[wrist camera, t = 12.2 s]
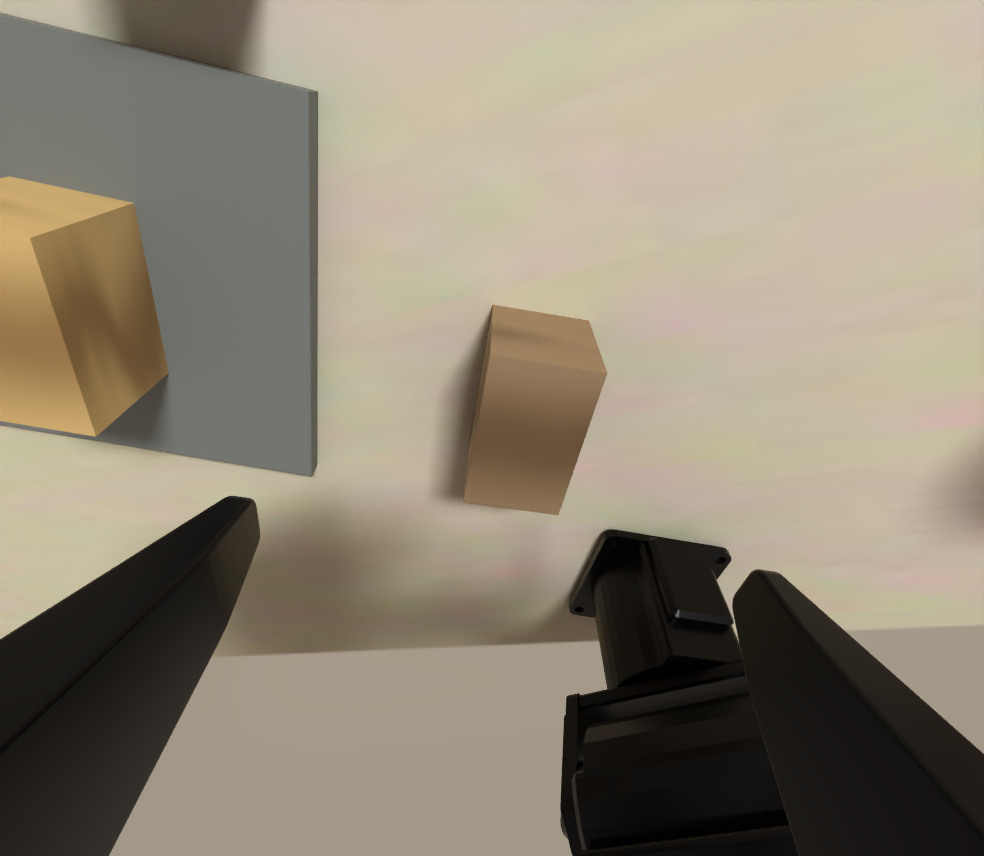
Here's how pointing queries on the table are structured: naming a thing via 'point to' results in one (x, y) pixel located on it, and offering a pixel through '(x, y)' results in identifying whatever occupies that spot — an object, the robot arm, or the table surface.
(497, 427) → the walnut block
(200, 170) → the grey mat
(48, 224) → the honey block
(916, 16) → the table surface
